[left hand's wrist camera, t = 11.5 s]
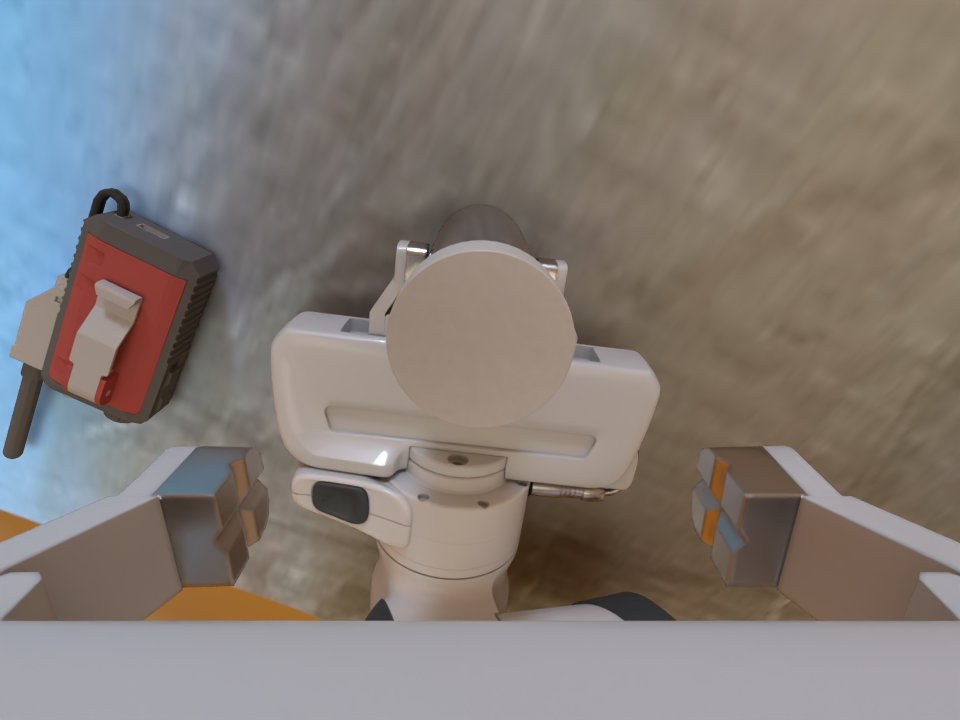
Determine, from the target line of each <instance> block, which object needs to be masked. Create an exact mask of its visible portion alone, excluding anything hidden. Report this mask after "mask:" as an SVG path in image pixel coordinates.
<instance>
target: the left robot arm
mask: <svg viewBox="0 0 960 720" xmlns="http://www.w3.org/2000/svg"><path fill="white" fill-rule="evenodd" d="M263 469H264V467H263V462H262V458H261V453H260V452H259V451H258V449H257V448H256V447H216V446H202V447H201V446H175V447H169V448H168V449H167V450H165V451H164V452H163V453H162V454H161V455H160V456H159V457H158V458H157V459H156V460H155V461H154V462H153V463H152V464H151V465H150V466H149V467H148V468H147V469H146V470H145V471H144V472H143V473H141V474H140V475H139V476H138V477H137V478H136V479H135V480H134V481H133V482H132V483H131V484H130V485H129V486H128V487H127V488H126V489H125V490H124V491H123V492H122V493H121V494H120V495H119V496H108V497H106V498H103V499H101V500H99V501H96V502H94V503H92V504H89V505H87V506H85V507H82V508H80V509H78V510H75V511H73V512H71V513H68V514H66V515H64V516H61V517H59V518H57V519H54V520H52V521H50V522H47V523H45V524H43V525H40V526H38V527H36V528H33V529H31V530H29V531H26V532H24V533H22V534H19V535H17V536H15V537H13V538H10V539H8V540H5V541H3V542H1V543H0V720H960V543H959V542H957V541H954V540H952V539H950V538H947V537H945V536H943V535H940V534H938V533H936V532H933V531H931V530H929V529H926V528H924V527H922V526H919V525H917V524H915V523H912V522H910V521H908V520H905V519H903V518H901V517H898V516H896V515H894V514H891V513H889V512H887V511H885V510H882V509H880V508H878V507H875V506H873V505H871V504H868V503H866V502H864V501H861V500H859V499H857V498H854V497H852V496H842V495H840V494H839V493H838V492H837V491H836V490H835V489H834V488H833V487H832V486H831V485H830V484H829V483H828V482H827V481H826V480H825V479H824V478H823V477H822V476H821V475H820V474H819V473H818V472H817V471H816V470H814V469H813V468H812V467H811V466H810V465H809V464H808V463H807V462H806V461H805V460H804V459H803V458H802V457H801V456H800V455H799V454H798V453H797V452H796V451H795V450H794V449H793V448H790V447H787V446H759V447H718V448H702V450H701V452H700V454H699V456H698V462H697V467H696V469H697V470H698V472H699V473H700V475H701V476H702V478H703V479H702V480H701V481H700V482H699V483H698V484H697V485H696V486H695V487H694V488H693V490H692V498H691V514H692V521H693V524H694V528H695V531H696V532H697V534H698V536H699V538H700V540H701V541H703V542H704V543H706V544H707V545H709V546H710V547H712V552H711V560H712V561H713V563H714V565H715V567H716V569H717V570H718V572H719V574H720V576H721V577H722V579H723V581H724V583H725V584H726V586H741V587H778V588H777V590H778V591H780V592H781V593H782V594H783V595H785V596H786V597H787V598H789V599H790V600H791V601H792V602H794V603H795V604H796V605H798V606H799V607H800V608H802V609H803V610H804V611H805V612H807V613H808V614H809V615H811V616H812V617H813V618H815V619H816V620H817V621H143V620H144V619H146V618H147V617H148V616H150V615H151V614H152V613H153V612H155V611H156V610H157V609H159V608H160V607H161V606H163V605H164V604H165V603H166V602H168V601H169V600H170V599H172V598H173V597H174V596H176V595H177V594H178V593H179V592H181V591H182V587H217V586H234V584H235V583H236V581H237V579H238V577H239V576H240V574H241V572H242V570H243V569H244V567H245V565H246V563H247V561H248V560H249V552H248V547H250V546H251V545H253V544H254V543H256V542H257V541H259V540H260V538H261V536H262V534H263V532H264V530H265V528H266V524H267V520H268V515H269V497H268V490H267V488H266V487H265V486H264V485H263V484H262V483H261V482H260V481H259V480H258V479H257V478H258V476H259V475H260V473H261V472H262V470H263Z"/></svg>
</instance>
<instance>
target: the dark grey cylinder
mask: <svg viewBox="0 0 960 720" xmlns="http://www.w3.org/2000/svg"><path fill="white" fill-rule="evenodd" d="M474 240H487V241H495V242H500V243H504V244H508V245H511V246H513V247H516V248H518V249H520V250H522V251H524V252H526V253H527V254H529V255H531V256H532V254H531V252H530V250H529V248H528V245H527V243H526V241H525V239H524V237H523V235H522V233H521V231H520V229H519V227H518V225H517V224H516V222H515V221H514V220H513V219H512V218H511V217H510V216H509V215H508V214H506V213H505V212H503V211H502V210H500V209H498V208H495V207H492V206H487V205H474V206H469V207H466V208H463V209H461V210H459V211H457V212H456V213H454V214H453V215H452V216H451V217H450V218H449V219H448V220H447V221H446V222H445V224H444V225H443V226H442V228H441V230H440V232H439V234H438V237H437V239H436V241H435V243H434V245H433V247H432V249H431V252H430V254H429V256H431V255H432V254H434V253H436V252H437V251H439V250H441V249H443V248H445V247H448V246H450V245H454V244H457V243H461V242H466V241H474ZM429 256H428V257H429ZM532 257H533V256H532Z"/></svg>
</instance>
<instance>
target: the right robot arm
mask: <svg viewBox="0 0 960 720" xmlns="http://www.w3.org/2000/svg"><path fill="white" fill-rule="evenodd" d="M428 255H429V244H427V243H420V242H413V241H406V240H400V241H399V243H398V245H397V250H396V261H395V275H394V277H393V279H392V280H391V282H390V283H389V285H388V286H387V287H386V289H385V290H384V292H383V293H382V295H381V296H380V297H379V299H378V300H377V302H376V303H375V305H374V306H373V308H372V309H371V311H370V315H369V319H368V318H360V317H351V316H343V315H335V314H326V313H318V312H309V311H306V312H302V313H300V314H298V315H297V316H296V317H294V318H293V319H292V320H291V321H289V322H288V323H287V324H286V325H285V326H284V327H283V328H282V329H281V330H280V331H279V332H278V333H277V335H276V336H275V338H274V340H273V342H272V345H271V380H272V391H273V399H274V407H275V413H276V419H277V424H278V429H279V433H280V436H281V439H282V441H283V443H284V445H285V447H286V448H287V450H288V451H289V452H290V453H291V455H293V456H294V457H295V458H296V459H297V460H299V463H298V466H297V468H296V471H295V474H294V477H293V481H292V497H293V500H294V501H295V502H296V503H297V504H298V505H299V506H301V507H303V508H305V509H307V510H310V511H312V512H315V513H318V514H320V515H323V516H326V517H328V518H331V519H334V520H336V521H339V522H341V523H344V524H346V525H348V526H351V527H353V528H355V529H358V530H360V531H362V532H364V533H366V534H368V535H370V536H372V537H374V538H376V543H377V546H378V550H379V554H380V555H379V558H378V560H377V563H376V565H375V567H374V571H373V575H372V580H371V594H370V613H369V615H368V616H367V618H366V620H365V621H676V620H675V619H674V618H673V617H672V616H670V615H669V614H668V613H667V612H666V611H664V610H663V609H662V608H660V607H659V606H658V605H656V604H655V603H653V602H652V601H651V600H649V599H647V598H646V597H644V596H642V595H639V594H636V593H633V592H622V593H617V594H613V595H608V596H604V597H599V598H594V599H590V600H585V601H580V602H577V603H574V604H572V605H569V606H560V607H552V608H543V609H534V610H525V611H516V612H507V613H506V608H507V603H508V597H509V581H508V574H507V569H508V567H509V566H510V564H511V562H512V561H513V559H514V557H515V554H516V552H517V549H518V545H519V540H520V535H521V529H522V524H523V519H524V513H525V509H526V503H527V496H529V495H535V496H545V497H557V498H559V497H560V498H562V497H570V498H579V499H581V500H584V501H592V502H594V501H602V500H603V499H604V497H605V496H610V495H614V494H617V493H619V492H621V491H622V490H625V489H627V488H628V487H629V486H630V485H631V483H632V481H633V478H634V474H635V471H636V467H637V463H638V459H639V447H640V445H641V443H642V441H643V439H644V437H645V434H646V432H647V430H648V427H649V425H650V422H651V419H652V417H653V414H654V411H655V408H656V405H657V403H658V399H659V396H660V384H659V381H658V379H657V377H656V375H655V373H654V372H653V370H652V368H651V367H650V366H649V364H648V363H647V362H646V361H645V360H644V358H643V357H642V356H641V355H640V354H639V353H638V352H636V351H633V350H626V349H617V348H609V347H600V346H592V345H584V344H576V343H577V338H578V337H577V334H576V331H575V329H574V331H575V349H574V354H573V359H572V363H571V366H570V369H569V371H568V373H567V376H566V378H565V380H564V382H563V383H562V385H561V386H560V388H559V389H558V391H557V392H556V393H555V394H554V395H553V396H552V398H551V399H550V400H549V401H548V402H546V403H545V404H544V405H543V406H542V407H541V408H539V409H538V410H536V411H535V412H534V413H532V414H530V415H529V416H527V417H525V418H523V419H521V420H518V421H516V422H513V423H510V424H506V425H502V426H497V427H490V428H472V427H463V426H459V425H454V424H451V423H448V422H445V421H443V420H440V419H438V418H436V417H434V416H432V415H431V414H429V413H428V412H426V411H425V410H423V409H422V408H420V407H419V406H418V405H417V404H416V403H414V402H413V401H412V399H411V398H410V397H409V396H408V395H407V394H406V393H405V392H404V390H403V389H402V387H401V386H400V385H399V383H398V381H397V379H396V377H395V375H394V374H393V371H392V368H391V365H390V363H389V358H388V354H387V346H386V332H387V324H388V319H389V315H390V312H391V310H392V307H393V305H392V303H393V302H394V301H395V299H396V298H397V296H398V295H399V293H400V291H401V289H402V287H403V285H404V284H405V282H406V280H407V279H408V277H409V276H410V275H411V273H412V272H413V271H414V270H415V269H416V268H417V267H418V265H419V264H420V263H422V262H423V261H424V260H425V259H427V258H428ZM536 260H537V261H538V262H540V263H541V264H542V265H543V266H544V267H545V268H546V269H547V271H548V272H549V273H550V275H551V276H552V277H553V279H554V280H555V282H556V284H557V286H558V287H559V289H560V291H561V293H562V295H564V289H565V284H566V278H567V273H568V265H567V263H566V262H565V261H563V260H555V259H547V258H538V257H537V258H536ZM605 488H609V489H605Z"/></svg>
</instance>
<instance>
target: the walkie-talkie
mask: <svg viewBox="0 0 960 720" xmlns="http://www.w3.org/2000/svg"><path fill="white" fill-rule="evenodd" d="M110 196H111V197H112V198H113V199H114V200H115V201H116V202H117V211H113V212H108V213H103V211H104V207H105V204H106V200H107V199H108V198H109V197H110ZM83 221H84V225H83V227H81V231H82V232H81V236H79V238H78V239H79V243H78V245H76V249H77V250H76V254H74V261H73V262H72V263H71V266H72V267H71V268H69V269H68V270H67V272H66V273H65V274H62V275H59V276H58V277H57V281H56V284H55V287H54V288H52V289H50V290H48V291H46V292H44V293H42V294H40V295H38V296H36V297H34V298H32V299H30V300H28V301H27V302H26V304H25V308H24V312H23V316H22V319H21V323H20V327H19V331H18V335H17V339H16V343H15V344H14V345H12V347H11V351H10V357H12V358H15V359H17V360H19V361H21V362H24V363H23V367H22V370H21V375H22V376H23V378H22V381H21V385H20V389H19V393H18V396H17V400H16V404H15V408H14V411H13V415H12V419H11V423H10V426H9V430H8V434H7V438H6V441H5V445H4V449H3V454H4V456H5V457H7V458H10V459H15V458H18V457H20V456H21V455H22V454H23V451H24V447H25V444H26V440H27V436H28V433H29V429H30V426H31V422H32V419H33V415H34V411H35V408H36V404H37V401H38V397H39V394H40V390H41V387H42V383H43V380H44V382H45V383H46V384H47V385H48V386H49V387H50V388H52V389H53V390H56V391H58V392H60V393H63V395H64V396H65V397H68V398H74V399H76V400H79V401H81V402H83V403H86V404H88V405H90V406H93V407H95V408H97V409H99V410H102V411H104V415H105V416H106V417H107V418H109V419H111V420H113V421H115V422H119V423H131V422H133V423H139V424H141V423H143V422H145V421H148V420H149V419H150V418H151V417H152V416H154V415H155V414H156V413H157V412H159V411H160V410H161V409H162V408H163V407H165V406H166V405H167V404H168V403H169V400H170V397H171V395H172V392H173V390H174V387H175V384H176V382H177V379H178V376H179V374H180V371H181V368H182V366H183V363H184V360H185V358H186V355H187V353H188V350H189V349H188V346H189V345H190V344H191V338H193V337H194V334H193V333H194V331H195V330H196V329H197V327H196V325H197V323H199V321H200V320H199V317H200V316H201V315H202V309H203V308H205V301H207V300H208V293H210V292H211V289H210V288H211V286H212V285H213V284H214V281H213V280H214V278H215V277H216V276H217V274H216V272H217V270H218V269H219V266H218V263H217V261H216V259H215V257H214V254H213V253H212V252H210V251H208V250H206V249H204V248H202V247H200V246H198V245H196V244H194V243H192V242H190V241H188V240H186V239H184V238H182V237H180V236H178V235H176V234H174V233H172V232H170V231H168V230H166V229H164V228H162V227H160V226H158V225H156V224H154V223H152V222H150V221H148V220H146V219H144V218H142V217H140V216H138V215H136V214H134V213H132V212H130V204H129V201H128V199H127V197H126V196H125V195H124V194H123V193H121V192H120V191H119V190H117V189H113V188H110V189H103V190H101V191H99V193H98V194H97V195H96V196H95V198H94V199H93V203H92V206H91V210H90V213H89V217H88V218H87V219H84V220H83Z"/></svg>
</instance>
